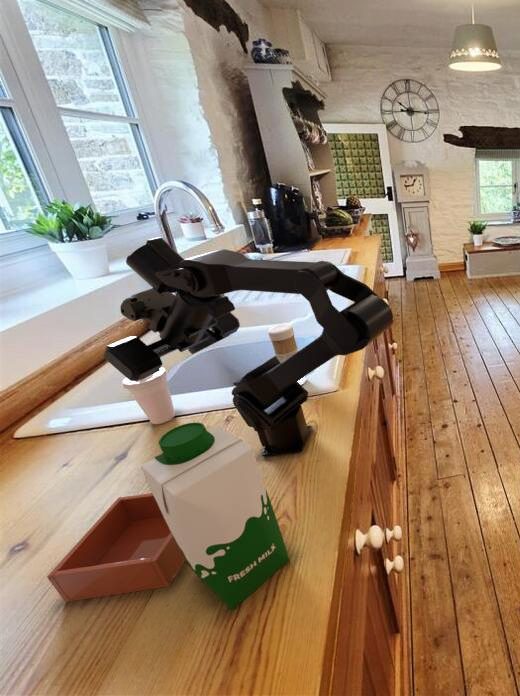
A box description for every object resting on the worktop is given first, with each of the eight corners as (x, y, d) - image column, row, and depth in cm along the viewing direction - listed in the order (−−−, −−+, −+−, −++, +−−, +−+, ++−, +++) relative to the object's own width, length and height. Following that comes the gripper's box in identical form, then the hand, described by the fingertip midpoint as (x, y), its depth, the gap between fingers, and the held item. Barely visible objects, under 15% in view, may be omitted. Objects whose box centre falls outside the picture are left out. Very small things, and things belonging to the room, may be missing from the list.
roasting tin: (217, 509, 59) (206, 485, 57) (169, 586, 49) (155, 560, 47) (131, 520, 58) (118, 497, 56) (65, 602, 47) (46, 576, 46)
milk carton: (262, 527, 56) (215, 405, 48) (301, 558, 51) (257, 430, 43) (189, 582, 49) (121, 451, 41) (228, 624, 45) (160, 486, 37)
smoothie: (138, 432, 75) (105, 367, 70) (147, 414, 81) (117, 351, 75) (180, 421, 78) (152, 357, 72) (186, 404, 83) (160, 343, 78)
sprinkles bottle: (303, 375, 92) (289, 321, 87) (309, 383, 89) (294, 328, 84) (281, 383, 90) (265, 327, 84) (287, 392, 86) (270, 334, 81)
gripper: (207, 259, 72) (182, 312, 80) (82, 296, 56) (65, 358, 63) (255, 303, 74) (226, 351, 81) (146, 352, 57) (122, 407, 64)
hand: (166, 364), depth 72 cm, fingers open, 9 cm apart
